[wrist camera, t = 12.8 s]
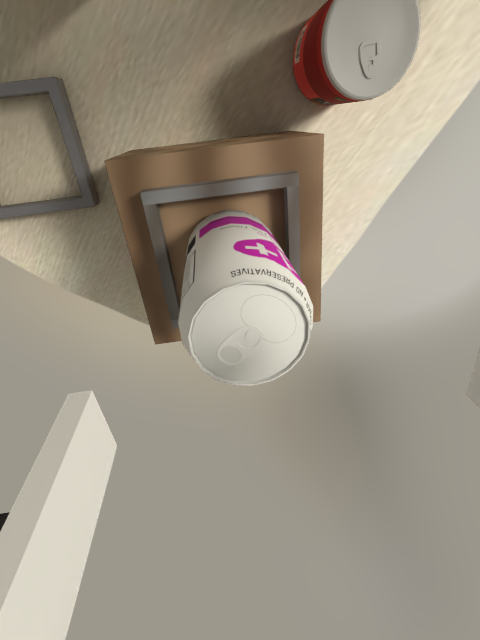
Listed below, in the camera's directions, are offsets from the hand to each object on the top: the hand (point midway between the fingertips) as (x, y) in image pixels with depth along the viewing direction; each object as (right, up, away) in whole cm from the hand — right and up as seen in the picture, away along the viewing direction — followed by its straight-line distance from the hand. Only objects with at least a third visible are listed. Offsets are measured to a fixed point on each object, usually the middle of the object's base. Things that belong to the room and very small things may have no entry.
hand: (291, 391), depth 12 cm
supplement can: (-3, +9, +21) cm, 23 cm away
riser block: (-4, +15, +31) cm, 35 cm away
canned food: (+7, +30, +24) cm, 39 cm away
